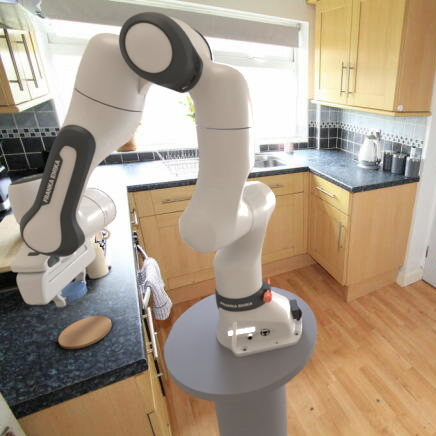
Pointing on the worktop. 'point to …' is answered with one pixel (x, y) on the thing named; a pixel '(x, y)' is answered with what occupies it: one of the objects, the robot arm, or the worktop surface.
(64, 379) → the worktop surface
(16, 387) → the worktop surface
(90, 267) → the jam jar
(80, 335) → the trivet
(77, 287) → the jar lid
